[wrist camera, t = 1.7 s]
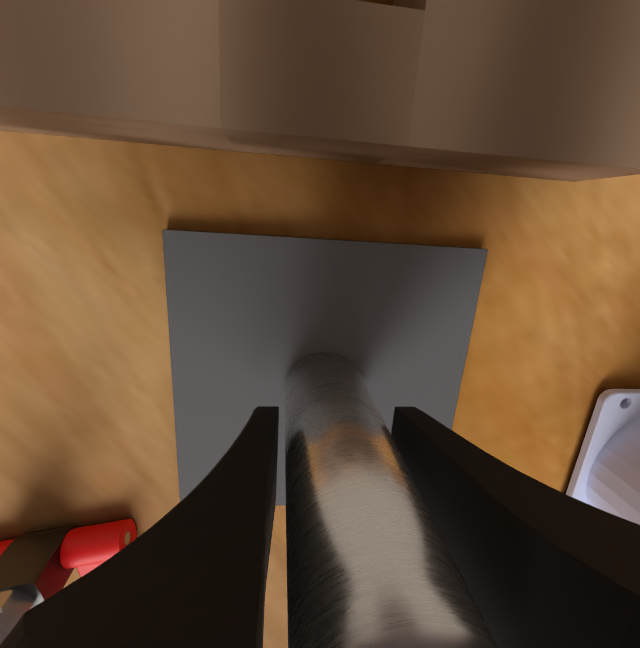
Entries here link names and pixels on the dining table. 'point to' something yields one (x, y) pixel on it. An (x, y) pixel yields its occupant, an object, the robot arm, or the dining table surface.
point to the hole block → (337, 79)
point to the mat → (308, 329)
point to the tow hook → (52, 563)
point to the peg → (362, 527)
